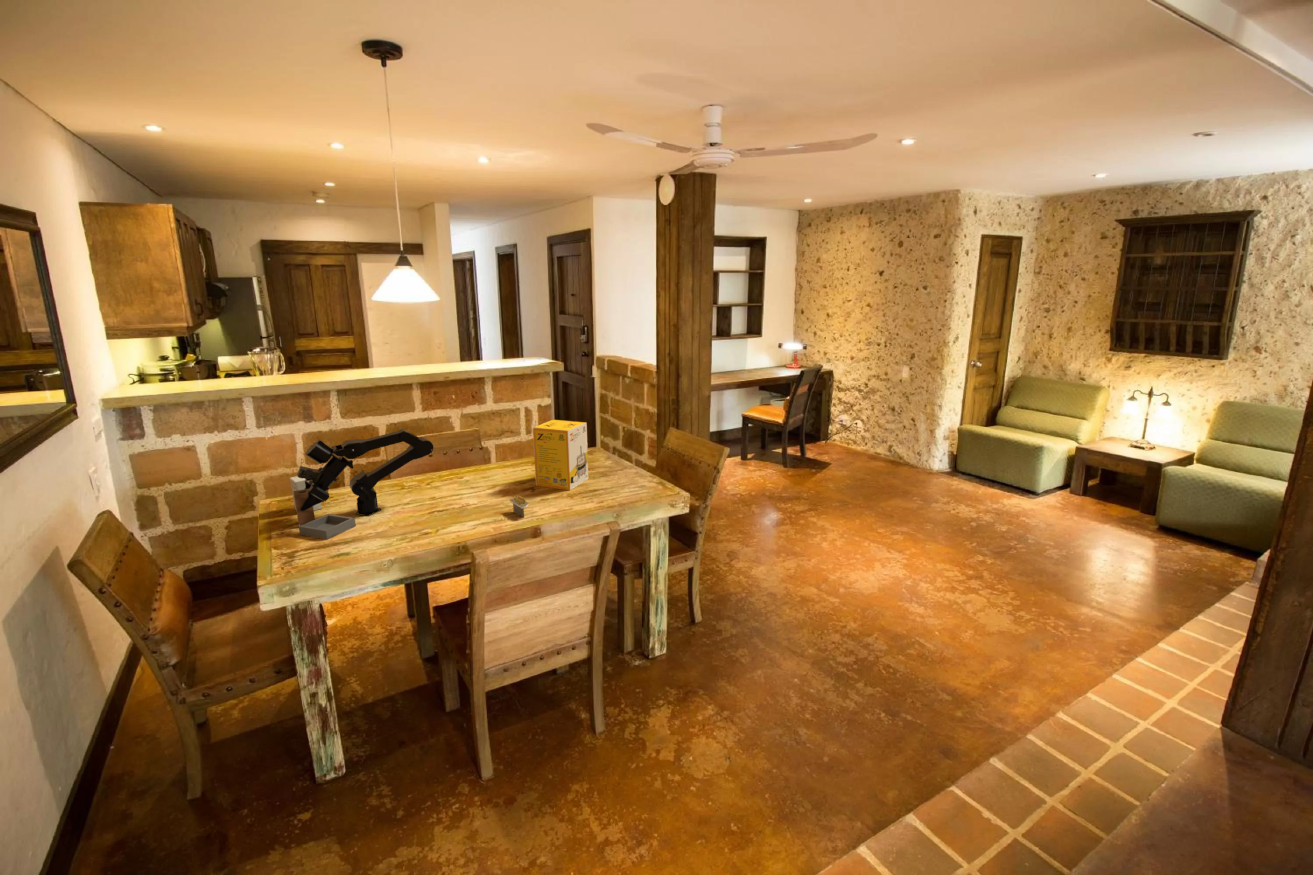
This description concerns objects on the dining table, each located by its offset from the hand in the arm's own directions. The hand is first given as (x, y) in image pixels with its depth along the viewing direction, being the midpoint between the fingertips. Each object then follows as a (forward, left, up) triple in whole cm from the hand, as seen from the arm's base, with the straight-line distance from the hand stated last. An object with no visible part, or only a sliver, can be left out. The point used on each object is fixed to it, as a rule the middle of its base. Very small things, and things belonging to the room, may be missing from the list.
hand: (300, 506), depth 210 cm
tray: (+1, +13, -7) cm, 15 cm away
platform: (-34, +67, -7) cm, 76 cm away
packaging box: (-71, +65, -7) cm, 96 cm away
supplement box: (-12, -11, -7) cm, 18 cm away
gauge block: (-1, +1, -7) cm, 7 cm away
